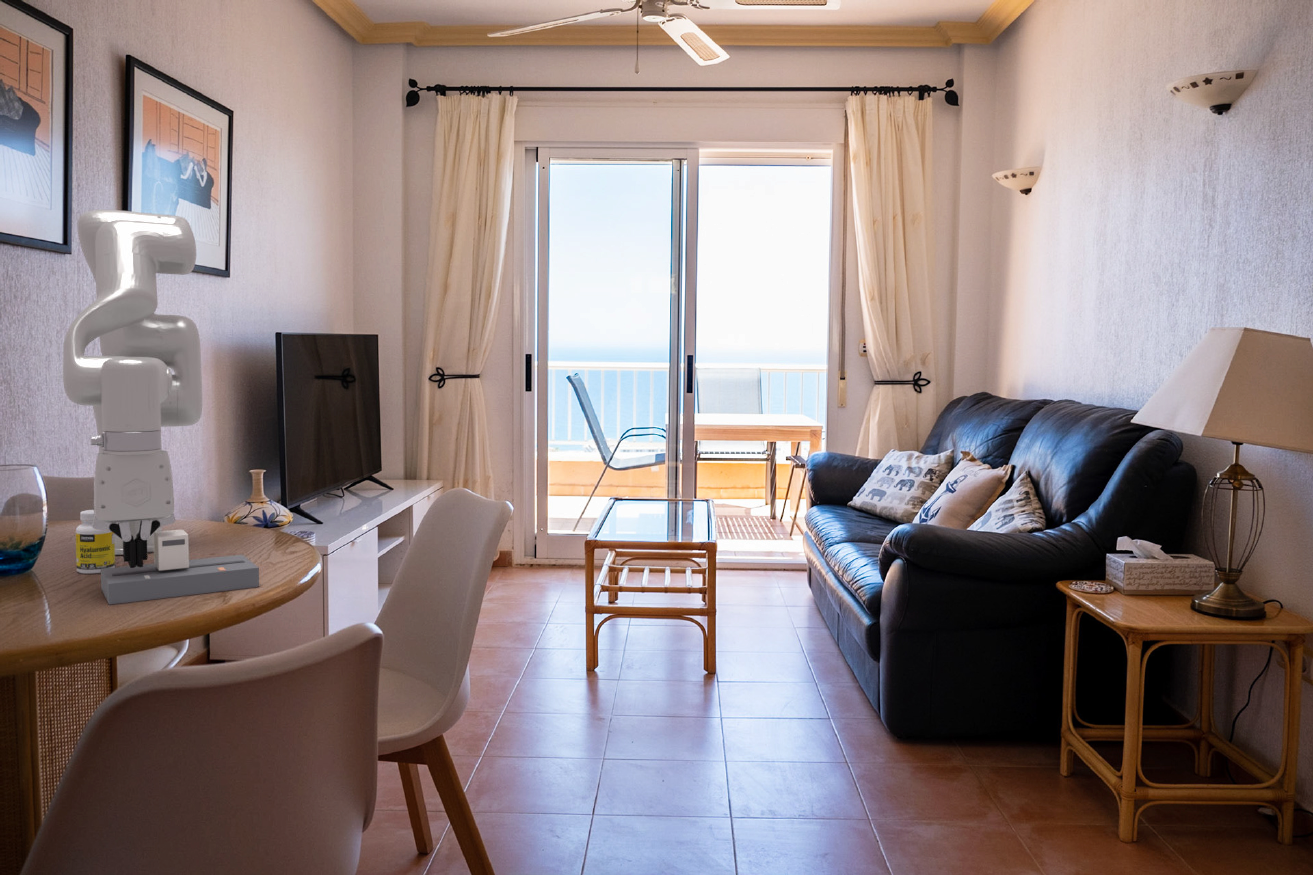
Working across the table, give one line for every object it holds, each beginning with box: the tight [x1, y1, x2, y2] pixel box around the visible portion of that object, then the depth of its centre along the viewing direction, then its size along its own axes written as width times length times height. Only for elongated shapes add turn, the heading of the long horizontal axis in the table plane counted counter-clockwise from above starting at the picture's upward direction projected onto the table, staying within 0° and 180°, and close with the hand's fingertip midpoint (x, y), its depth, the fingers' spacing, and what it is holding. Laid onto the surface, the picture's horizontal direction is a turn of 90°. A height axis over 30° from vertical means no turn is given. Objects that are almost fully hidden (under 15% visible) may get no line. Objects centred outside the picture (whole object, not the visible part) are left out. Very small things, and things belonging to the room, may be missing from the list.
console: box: [100, 554, 260, 606], centre depth 141 cm, size 11×20×3 cm, turn 126°
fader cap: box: [153, 529, 190, 571], centre depth 139 cm, size 5×4×5 cm
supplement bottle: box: [75, 509, 116, 575], centre depth 150 cm, size 5×5×10 cm
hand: (135, 565), depth 137 cm, fingers closed
